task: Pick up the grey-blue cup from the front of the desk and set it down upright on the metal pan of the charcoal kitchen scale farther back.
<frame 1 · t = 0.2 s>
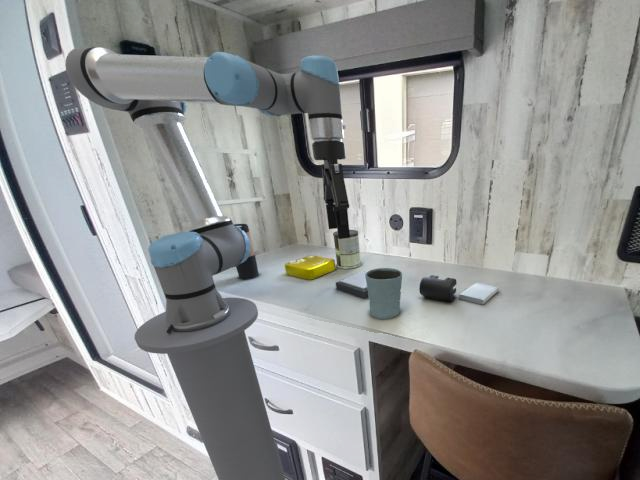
hand: (338, 233, 80), 23 cm above the table, tool pointing down, fingers open, 13 cm apart
end cap: (438, 299, 97), on the table
travel mug: (249, 276, 122), on the table
hard drive: (478, 295, 99), on the table
coffee can: (349, 265, 132), on the table
grey-blue cup: (385, 312, 90), on the table
element tile: (311, 272, 125), on the table
scale: (364, 287, 108), on the table
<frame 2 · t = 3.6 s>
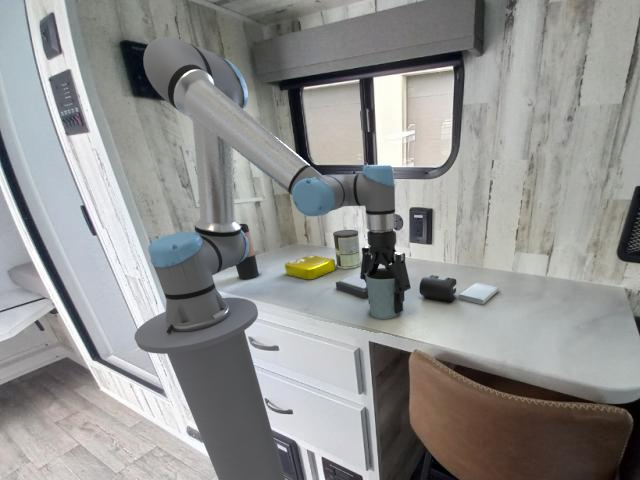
hand: (385, 307, 89), 2 cm above the table, tool pointing down, fingers closed on grey-blue cup, 9 cm apart
grey-blue cup: (385, 312, 90), on the table, touching gripper
everything else where it was.
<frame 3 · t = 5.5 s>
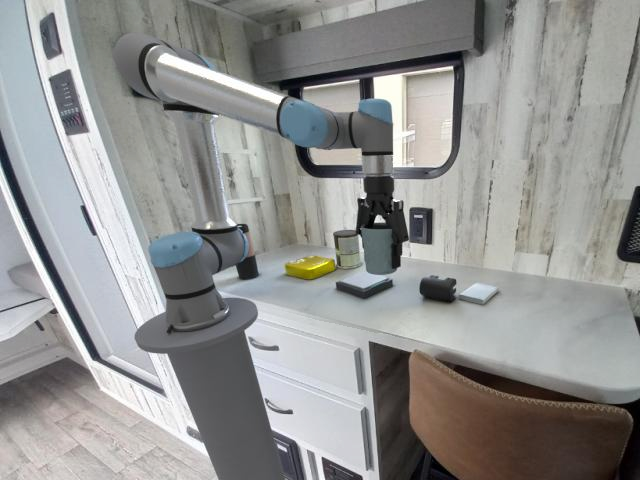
hand: (382, 263, 84), 15 cm above the table, tool pointing down, fingers closed on grey-blue cup, 9 cm apart
grey-blue cup: (382, 270, 84), point 13 cm above the table, touching gripper
everything else where it was.
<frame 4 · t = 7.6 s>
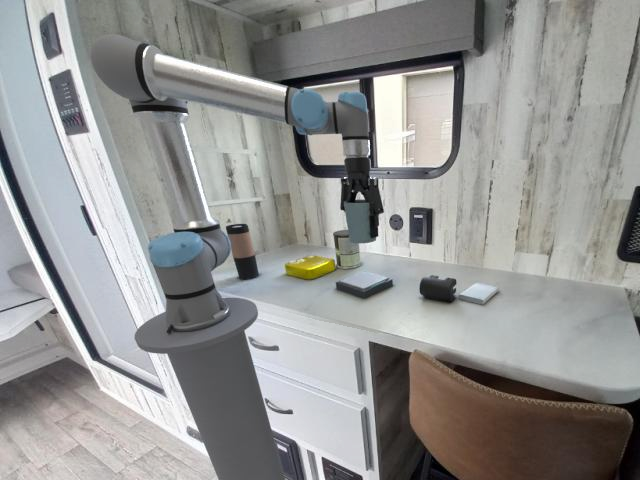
hand: (363, 235, 97), 19 cm above the table, tool pointing down, fingers closed on grey-blue cup, 9 cm apart
grey-blue cup: (363, 240, 98), point 17 cm above the table, touching gripper
everything else where it was.
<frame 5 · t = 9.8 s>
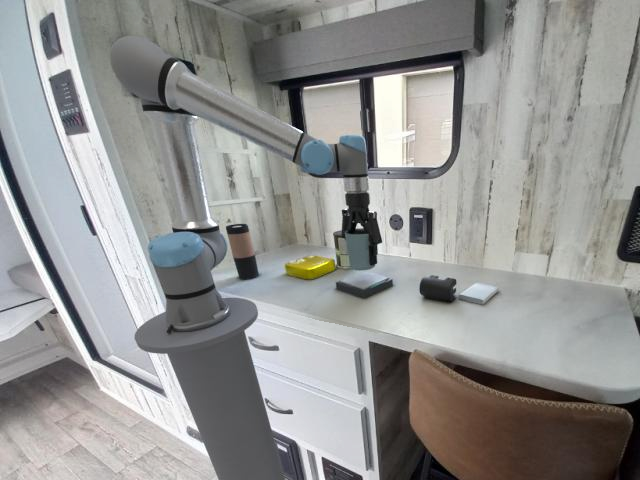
hand: (362, 261, 104), 9 cm above the table, tool pointing down, fingers closed on grey-blue cup, 9 cm apart
grey-blue cup: (363, 266, 105), point 8 cm above the table, touching gripper
everything else where it was.
when the fingers open (5 cm above the table, at t = 11.5 s): grey-blue cup stays where it is, resting on scale.
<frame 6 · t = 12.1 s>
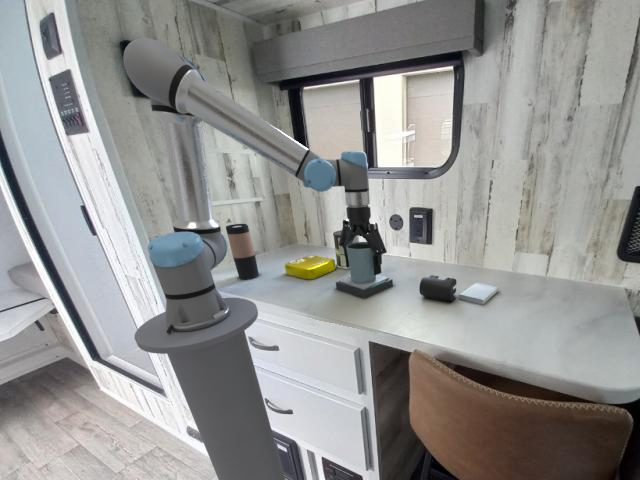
hand: (363, 270, 105), 6 cm above the table, tool pointing down, fingers open, 13 cm apart
grey-blue cup: (364, 279, 106), point 3 cm above the table, touching scale
everything else where it was.
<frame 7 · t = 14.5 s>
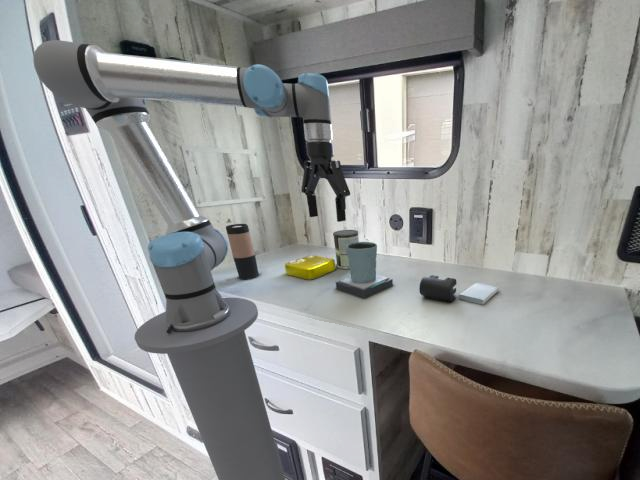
hand: (327, 218, 95), 24 cm above the table, tool pointing down, fingers open, 13 cm apart
nothing on the table moved.
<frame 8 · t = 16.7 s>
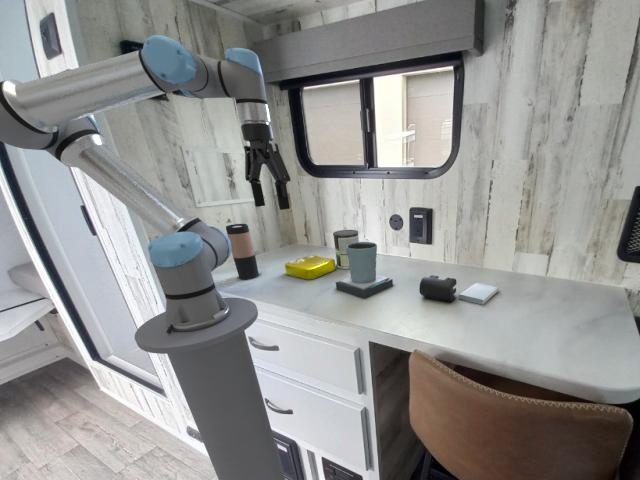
hand: (272, 207, 89), 29 cm above the table, tool pointing down, fingers open, 13 cm apart
nothing on the table moved.
at the end: grey-blue cup inside the target area on the scale (0.0 cm from its centre), point 2.9 cm above the scale's base; grey-blue cup tilted 0°; the gripper is holding nothing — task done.
